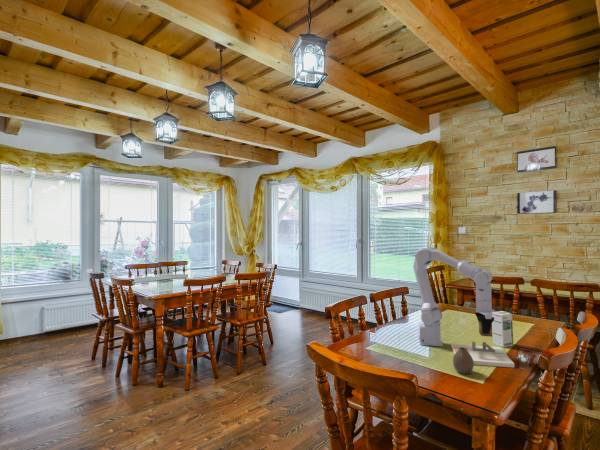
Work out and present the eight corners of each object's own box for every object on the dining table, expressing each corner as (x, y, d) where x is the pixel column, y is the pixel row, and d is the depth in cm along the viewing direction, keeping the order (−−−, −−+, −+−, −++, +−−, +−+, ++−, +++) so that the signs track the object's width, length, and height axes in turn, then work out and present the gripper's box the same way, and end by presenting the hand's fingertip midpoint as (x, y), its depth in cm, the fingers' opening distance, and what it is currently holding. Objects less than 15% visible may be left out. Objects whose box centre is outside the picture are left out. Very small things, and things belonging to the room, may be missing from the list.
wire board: (458, 363, 134) (458, 359, 134) (451, 347, 151) (451, 343, 151) (514, 367, 129) (514, 363, 129) (500, 350, 146) (500, 346, 146)
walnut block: (481, 336, 140) (481, 323, 140) (479, 333, 144) (478, 321, 144) (492, 336, 139) (491, 324, 139) (489, 333, 143) (489, 321, 143)
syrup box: (503, 347, 149) (502, 314, 149) (492, 343, 155) (491, 311, 155) (513, 346, 151) (512, 313, 151) (502, 341, 157) (501, 310, 157)
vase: (467, 367, 130) (466, 344, 130) (477, 375, 123) (476, 351, 123) (449, 368, 130) (449, 345, 130) (458, 376, 123) (458, 352, 123)
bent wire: (473, 357, 136) (472, 348, 136) (468, 349, 145) (468, 341, 145) (495, 359, 134) (495, 350, 134) (489, 350, 142) (489, 342, 142)
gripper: (499, 303, 134) (500, 338, 134) (489, 295, 148) (490, 327, 148) (479, 302, 136) (480, 337, 136) (471, 295, 150) (472, 326, 149)
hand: (484, 331), depth 142 cm, fingers closed on walnut block, 4 cm apart
